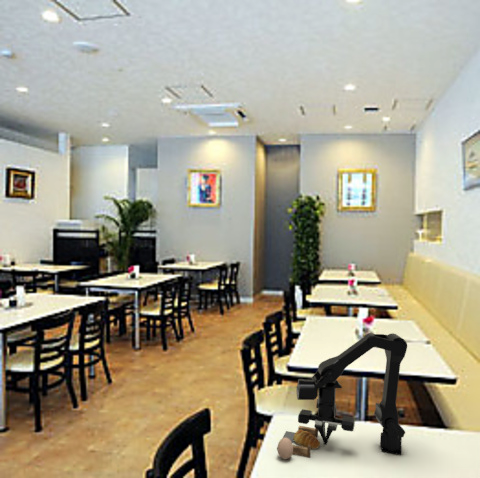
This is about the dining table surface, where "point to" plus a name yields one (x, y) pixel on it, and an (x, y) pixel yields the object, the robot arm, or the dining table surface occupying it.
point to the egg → (285, 448)
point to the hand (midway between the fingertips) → (325, 444)
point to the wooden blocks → (304, 450)
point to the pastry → (306, 439)
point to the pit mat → (289, 435)
